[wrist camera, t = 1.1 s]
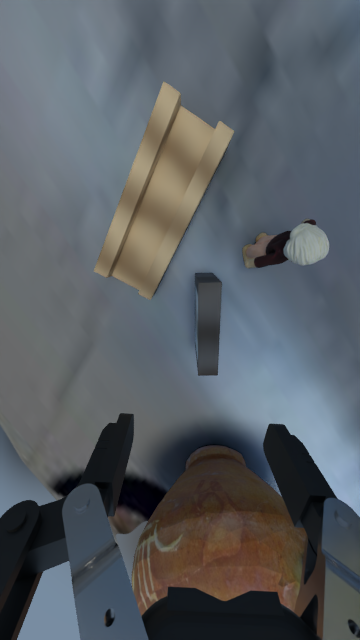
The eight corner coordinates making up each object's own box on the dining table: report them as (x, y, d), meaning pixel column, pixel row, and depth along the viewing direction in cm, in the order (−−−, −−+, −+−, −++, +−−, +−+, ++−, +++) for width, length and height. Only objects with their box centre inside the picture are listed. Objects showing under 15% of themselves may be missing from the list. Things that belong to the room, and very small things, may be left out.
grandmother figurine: (248, 276, 29) (293, 299, 17) (230, 258, 28) (263, 268, 16) (291, 233, 27) (378, 224, 15) (273, 212, 26) (349, 184, 14)
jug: (126, 470, 45) (28, 846, 17) (205, 390, 36) (273, 882, 8) (220, 516, 50) (265, 857, 22) (308, 456, 42) (560, 886, 14)
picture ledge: (167, 107, 22) (163, 81, 19) (227, 148, 23) (234, 131, 20) (105, 267, 29) (93, 271, 25) (154, 293, 30) (150, 300, 26)
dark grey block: (194, 273, 29) (198, 283, 21) (212, 272, 29) (222, 282, 21) (195, 345, 33) (197, 375, 26) (210, 345, 33) (218, 375, 26)
